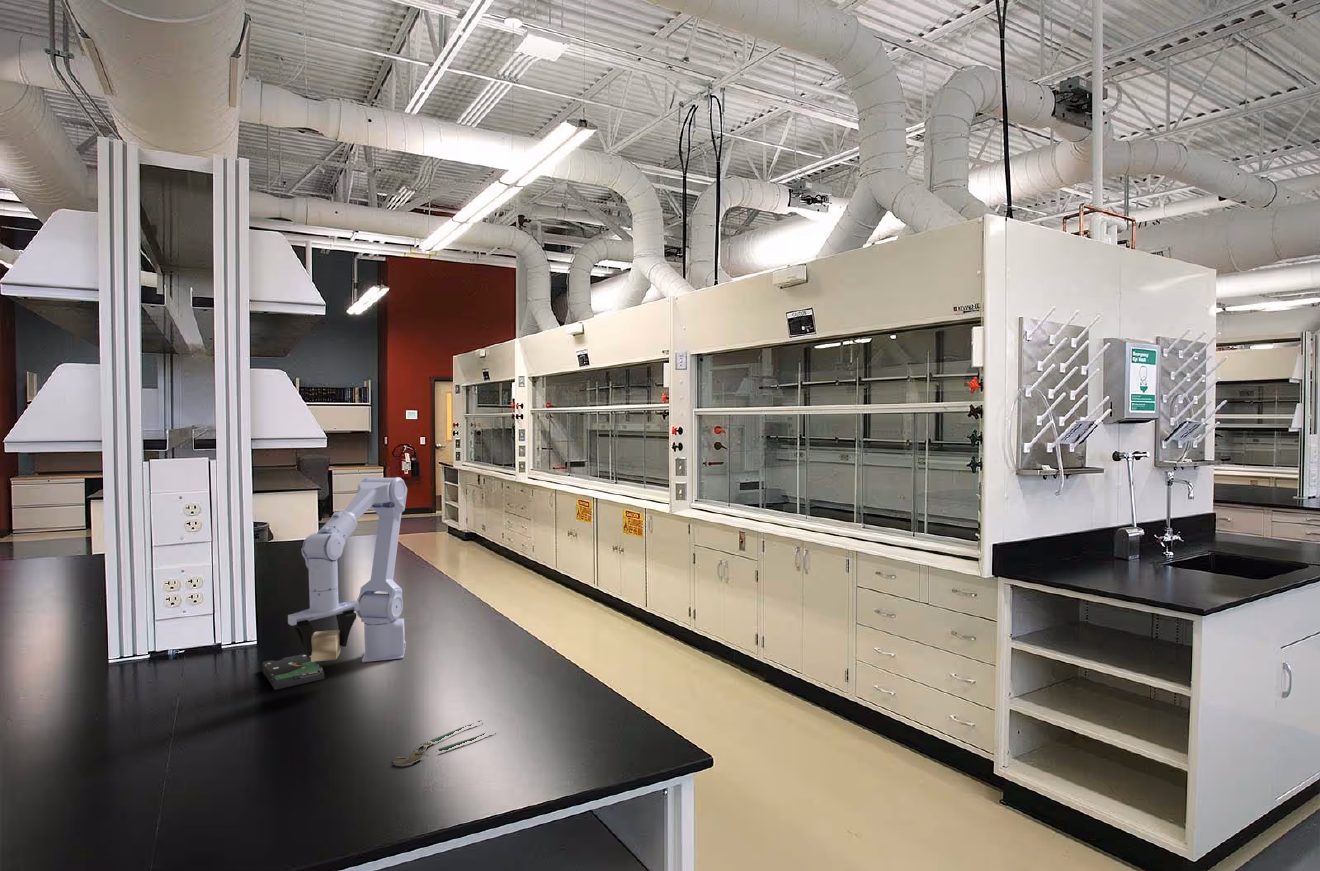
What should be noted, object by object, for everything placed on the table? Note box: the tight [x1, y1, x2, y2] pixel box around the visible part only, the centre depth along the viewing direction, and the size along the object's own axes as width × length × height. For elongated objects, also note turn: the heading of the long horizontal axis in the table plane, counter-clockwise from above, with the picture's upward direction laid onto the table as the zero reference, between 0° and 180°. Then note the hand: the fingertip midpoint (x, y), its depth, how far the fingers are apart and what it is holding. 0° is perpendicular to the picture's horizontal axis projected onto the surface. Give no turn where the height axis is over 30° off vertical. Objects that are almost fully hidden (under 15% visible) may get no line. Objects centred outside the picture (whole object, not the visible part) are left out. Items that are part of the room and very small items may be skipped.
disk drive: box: [261, 653, 325, 690], centre depth 165 cm, size 10×3×15 cm
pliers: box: [392, 720, 486, 764], centre depth 130 cm, size 20×7×1 cm, turn 136°
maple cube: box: [311, 629, 341, 662], centre depth 157 cm, size 5×5×5 cm
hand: (325, 650), depth 157 cm, fingers closed on maple cube, 7 cm apart
